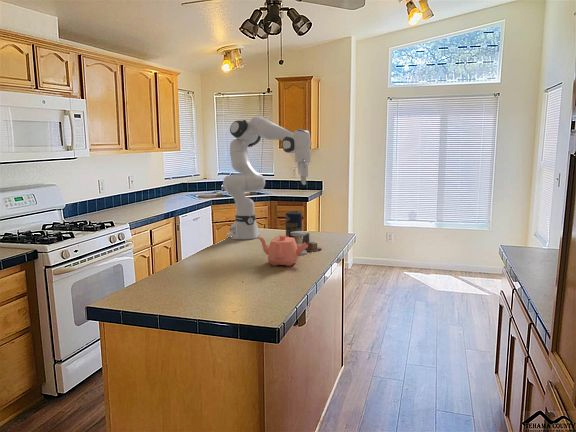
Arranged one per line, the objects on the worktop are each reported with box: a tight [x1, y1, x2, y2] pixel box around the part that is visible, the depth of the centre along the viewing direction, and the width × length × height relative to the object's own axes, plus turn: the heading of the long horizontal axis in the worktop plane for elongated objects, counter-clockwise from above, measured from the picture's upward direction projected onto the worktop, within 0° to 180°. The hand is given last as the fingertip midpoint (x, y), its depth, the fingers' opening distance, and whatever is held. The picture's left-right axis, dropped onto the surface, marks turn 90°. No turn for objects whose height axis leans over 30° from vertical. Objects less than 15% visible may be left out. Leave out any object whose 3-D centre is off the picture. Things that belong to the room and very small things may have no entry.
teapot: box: [256, 234, 308, 267], centre depth 217 cm, size 18×18×14 cm
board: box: [302, 238, 323, 253], centre depth 247 cm, size 18×7×4 cm, turn 34°
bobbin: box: [290, 230, 308, 256], centre depth 235 cm, size 8×8×11 cm
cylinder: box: [302, 230, 310, 244], centre depth 247 cm, size 4×4×8 cm
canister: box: [284, 210, 303, 239], centre depth 264 cm, size 10×10×18 cm
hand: (303, 183), depth 253 cm, fingers open, 8 cm apart
